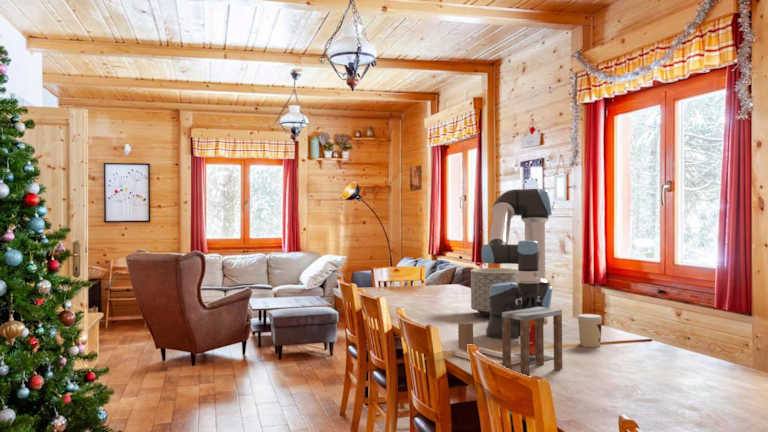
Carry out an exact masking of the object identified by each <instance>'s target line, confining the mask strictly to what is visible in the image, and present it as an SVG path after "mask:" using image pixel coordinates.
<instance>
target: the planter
mask: <svg viewBox="0 0 768 432" xmlns="http://www.w3.org/2000/svg"><path fill="white" fill-rule="evenodd" d="M505 282H516V284H517V285H516V286H518V283H519V282H520V281H518V269H516V268H506V267H504V268H503V267H485V268H484V267H483V268H472V269H470V308H471V309H472V310H474V311H477V312H478V313H479V314H481V316H484V317H487V316H488V318H490V296H489V295H490V287H491V286H492V285H494V284H498V283H505Z"/></svg>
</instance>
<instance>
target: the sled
mask: <svg viewBox="0 0 768 432" xmlns="http://www.w3.org/2000/svg"><path fill="white" fill-rule="evenodd" d="M457 325H458V326H457V327H458V331H457V332H458V335H457V336H458V349H456V350H452V356H455V357H459V358H463V359H467V360H470V359H469V357H468V354H469V353H467V344H473V345H474V322H469V321H462V322H458V324H457ZM478 347H479V349H480V352H479V353H482V354H485V355H489V356H493V357H497V358H501V359H502V351H498V350H493V349H488V348H485V347H481V346H478ZM514 355H515V354H511V366H513V365H516V364H521V357H518V356H514ZM492 360H493V359H492ZM493 361H495V362H496V363H499V364H501V365H503V360H502V361H498V360H493Z"/></svg>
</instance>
